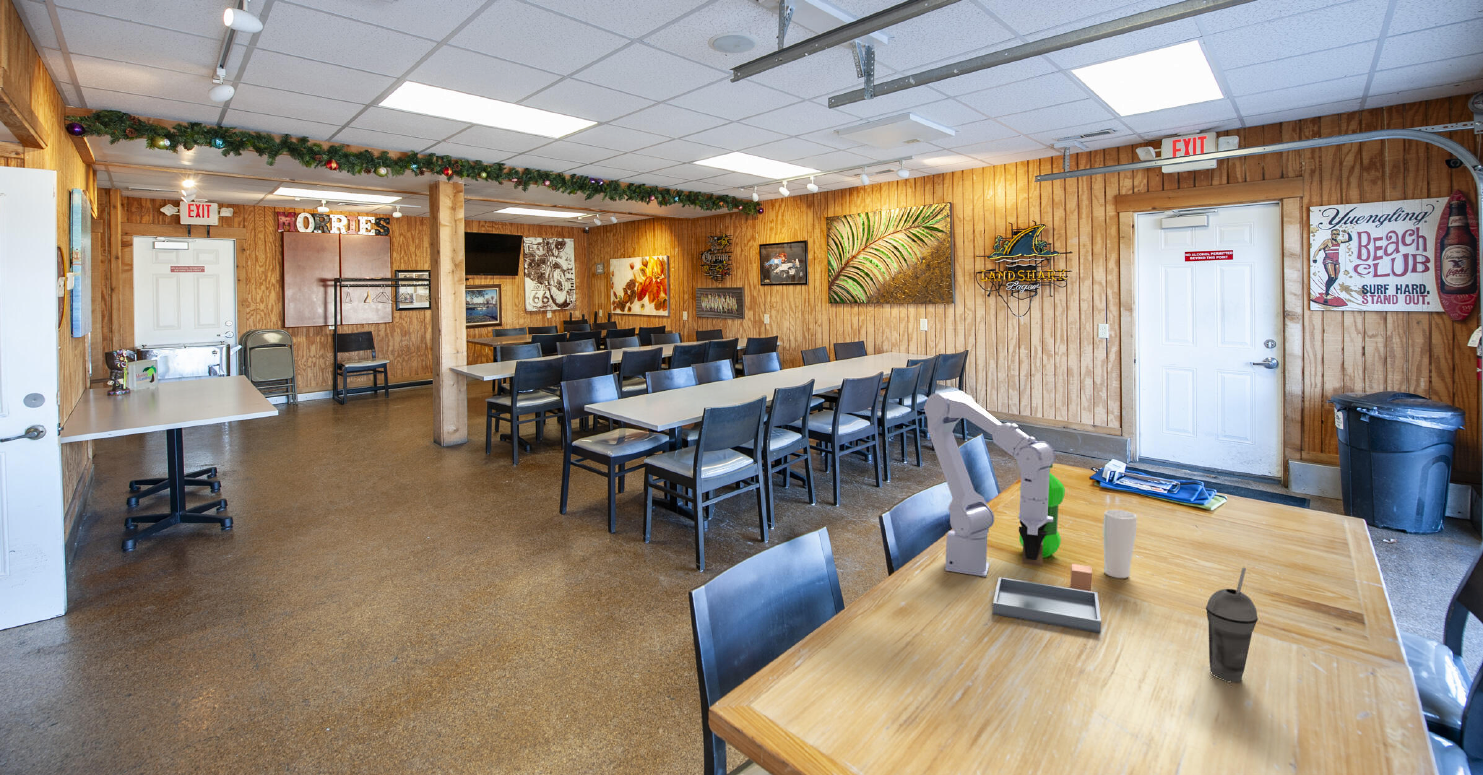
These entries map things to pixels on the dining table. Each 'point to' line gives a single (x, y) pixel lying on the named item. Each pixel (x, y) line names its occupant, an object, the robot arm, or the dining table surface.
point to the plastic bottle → (1054, 499)
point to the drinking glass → (1118, 542)
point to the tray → (1047, 604)
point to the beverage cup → (1230, 631)
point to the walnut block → (1033, 562)
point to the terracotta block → (1081, 577)
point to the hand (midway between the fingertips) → (1031, 555)
